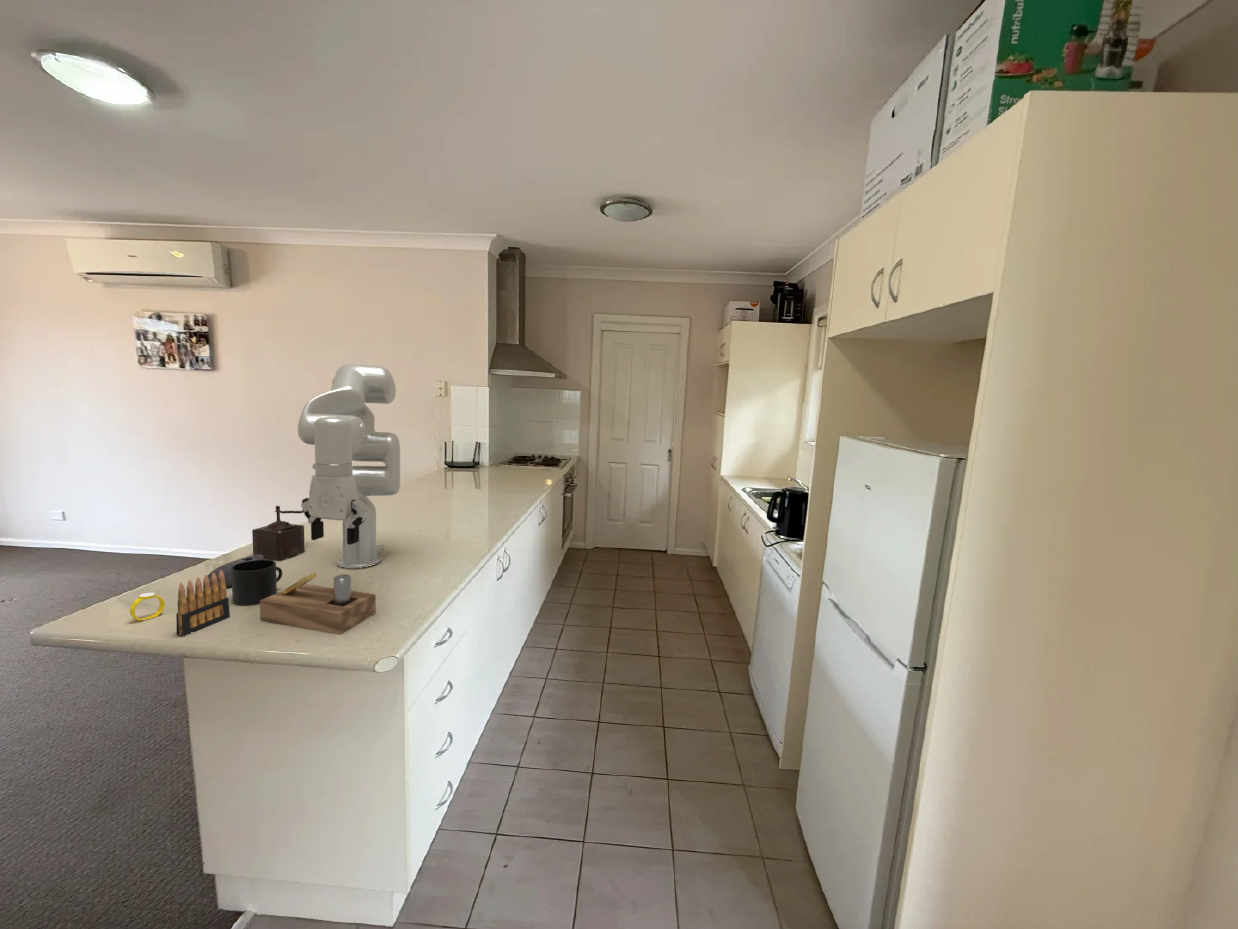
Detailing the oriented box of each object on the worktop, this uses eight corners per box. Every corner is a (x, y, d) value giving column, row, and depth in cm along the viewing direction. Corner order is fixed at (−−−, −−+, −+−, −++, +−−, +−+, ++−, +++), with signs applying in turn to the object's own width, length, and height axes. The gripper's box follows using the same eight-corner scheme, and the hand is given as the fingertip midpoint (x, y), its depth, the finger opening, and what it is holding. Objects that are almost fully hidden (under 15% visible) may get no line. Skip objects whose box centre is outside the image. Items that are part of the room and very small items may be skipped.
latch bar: (294, 590, 125) (292, 587, 125) (317, 576, 123) (315, 572, 123) (283, 595, 122) (281, 592, 122) (307, 580, 120) (304, 577, 120)
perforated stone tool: (211, 594, 132) (209, 569, 131) (200, 590, 134) (199, 565, 133) (271, 578, 145) (271, 555, 144) (261, 574, 147) (260, 551, 147)
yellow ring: (159, 614, 120) (160, 589, 120) (166, 616, 119) (167, 592, 119) (127, 622, 115) (128, 596, 114) (134, 624, 114) (135, 599, 113)
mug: (294, 592, 136) (293, 560, 135) (248, 608, 125) (247, 573, 124) (270, 586, 139) (269, 554, 138) (223, 601, 128) (222, 567, 127)
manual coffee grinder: (281, 561, 158) (279, 506, 156) (251, 557, 160) (249, 503, 158) (319, 548, 173) (318, 497, 171) (291, 544, 175) (290, 494, 173)
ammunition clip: (224, 616, 120) (221, 568, 119) (230, 617, 120) (228, 569, 119) (176, 635, 110) (173, 583, 109) (182, 637, 110) (179, 585, 108)
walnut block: (301, 601, 131) (301, 583, 130) (375, 613, 126) (375, 594, 126) (260, 620, 119) (259, 600, 118) (340, 634, 115) (339, 613, 114)
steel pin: (341, 616, 124) (341, 573, 122) (354, 618, 123) (353, 575, 122) (330, 622, 120) (329, 578, 119) (343, 624, 119) (342, 580, 118)
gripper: (288, 469, 115) (291, 541, 117) (355, 475, 112) (356, 549, 114) (314, 465, 122) (316, 533, 124) (377, 471, 119) (377, 540, 121)
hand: (335, 540), depth 119 cm, fingers open, 9 cm apart
